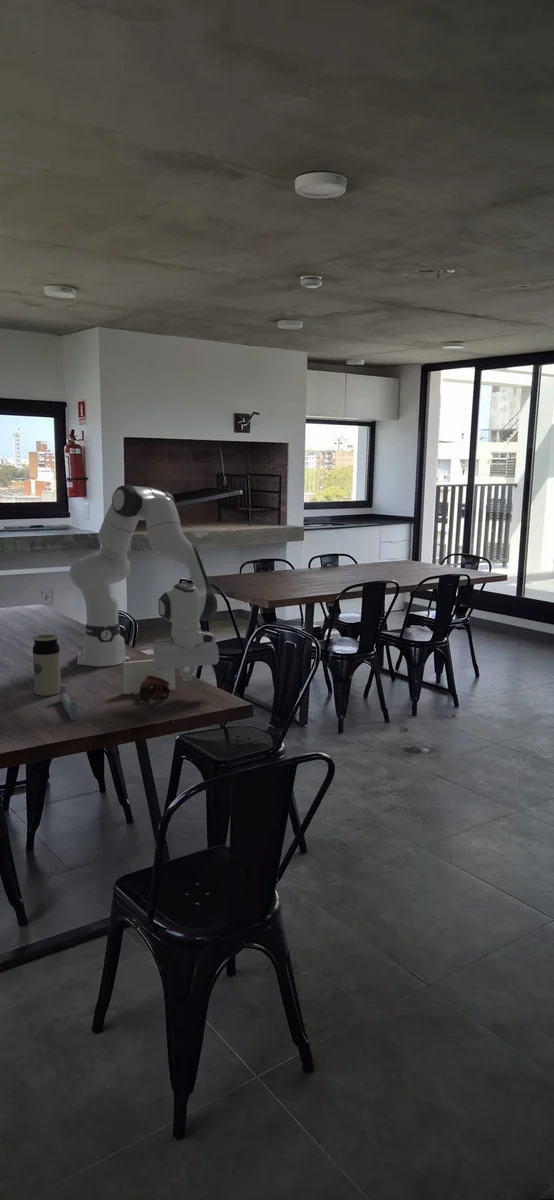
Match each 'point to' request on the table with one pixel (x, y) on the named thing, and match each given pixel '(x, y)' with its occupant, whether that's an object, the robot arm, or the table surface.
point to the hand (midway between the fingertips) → (186, 680)
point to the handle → (68, 703)
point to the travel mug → (46, 665)
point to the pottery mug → (152, 689)
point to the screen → (144, 675)
